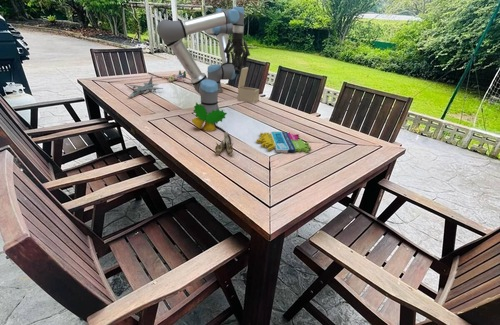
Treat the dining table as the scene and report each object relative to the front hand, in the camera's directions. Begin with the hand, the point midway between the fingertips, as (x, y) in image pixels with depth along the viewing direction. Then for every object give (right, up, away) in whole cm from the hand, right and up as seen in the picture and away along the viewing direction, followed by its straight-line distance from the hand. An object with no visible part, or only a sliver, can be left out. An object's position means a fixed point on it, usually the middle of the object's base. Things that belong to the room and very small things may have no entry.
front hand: (236, 64), depth 192 cm
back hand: (-1, +3, +28) cm, 28 cm away
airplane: (-82, -11, +34) cm, 89 cm away
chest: (+9, -18, +34) cm, 39 cm away
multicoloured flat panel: (+29, -61, -40) cm, 78 cm away
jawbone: (-3, -66, -53) cm, 85 cm away
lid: (+5, -1, +27) cm, 27 cm away
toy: (-68, +16, +85) cm, 110 cm away
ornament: (-15, -51, -27) cm, 60 cm away
